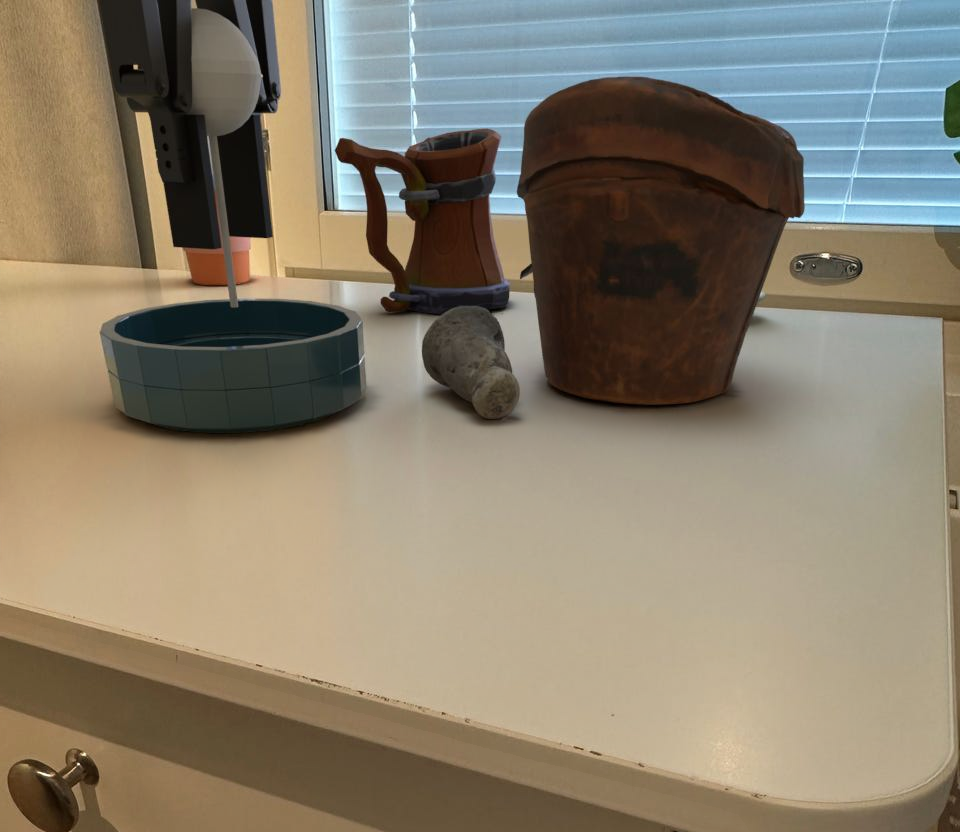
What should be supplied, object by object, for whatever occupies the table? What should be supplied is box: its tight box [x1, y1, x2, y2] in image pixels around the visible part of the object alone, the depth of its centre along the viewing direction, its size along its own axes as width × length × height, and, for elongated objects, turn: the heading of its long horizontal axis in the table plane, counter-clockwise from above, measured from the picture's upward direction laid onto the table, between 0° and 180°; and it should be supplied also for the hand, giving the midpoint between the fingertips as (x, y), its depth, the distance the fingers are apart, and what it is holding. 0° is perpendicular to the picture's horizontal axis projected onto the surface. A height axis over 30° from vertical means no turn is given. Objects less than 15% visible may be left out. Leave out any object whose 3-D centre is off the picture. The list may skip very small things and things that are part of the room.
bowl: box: [99, 297, 367, 434], centre depth 56 cm, size 16×16×5 cm
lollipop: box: [168, 7, 262, 307], centre depth 51 cm, size 6×6×15 cm
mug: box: [334, 128, 511, 315], centre depth 81 cm, size 18×12×15 cm, turn 132°
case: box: [516, 75, 806, 406], centre depth 58 cm, size 18×20×18 cm
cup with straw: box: [182, 138, 252, 286], centre depth 93 cm, size 9×9×18 cm
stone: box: [421, 306, 521, 420], centre depth 57 cm, size 10×5×8 cm
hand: (225, 240), depth 52 cm, fingers closed on lollipop, 5 cm apart
